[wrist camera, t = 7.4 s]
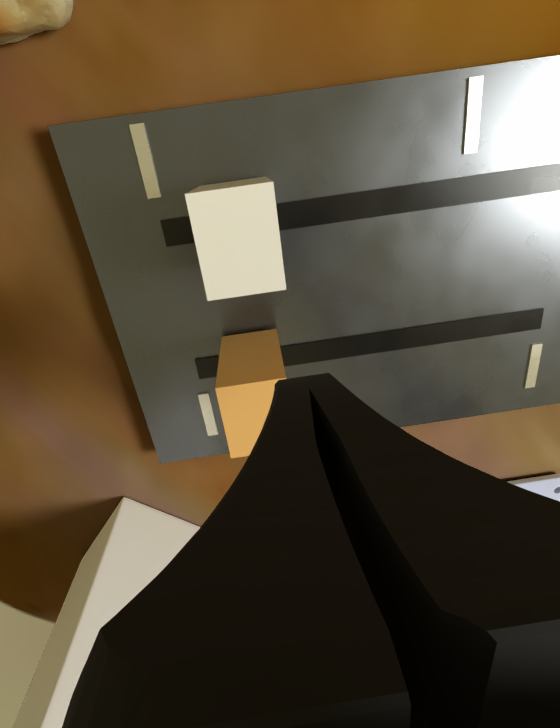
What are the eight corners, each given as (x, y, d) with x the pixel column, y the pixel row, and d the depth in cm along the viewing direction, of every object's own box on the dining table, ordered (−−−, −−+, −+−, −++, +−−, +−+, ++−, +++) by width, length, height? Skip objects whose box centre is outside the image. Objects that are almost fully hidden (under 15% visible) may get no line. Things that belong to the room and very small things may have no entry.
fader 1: (276, 258, 16) (286, 289, 12) (216, 266, 16) (207, 301, 12) (265, 176, 15) (272, 181, 11) (200, 185, 15) (184, 194, 11)
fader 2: (284, 387, 19) (295, 448, 15) (233, 395, 19) (231, 458, 15) (276, 328, 18) (285, 377, 14) (221, 336, 18) (215, 388, 14)
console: (565, 388, 22) (583, 400, 21) (164, 448, 22) (159, 464, 21) (641, 48, 15) (674, 38, 14) (61, 128, 15) (46, 125, 14)
